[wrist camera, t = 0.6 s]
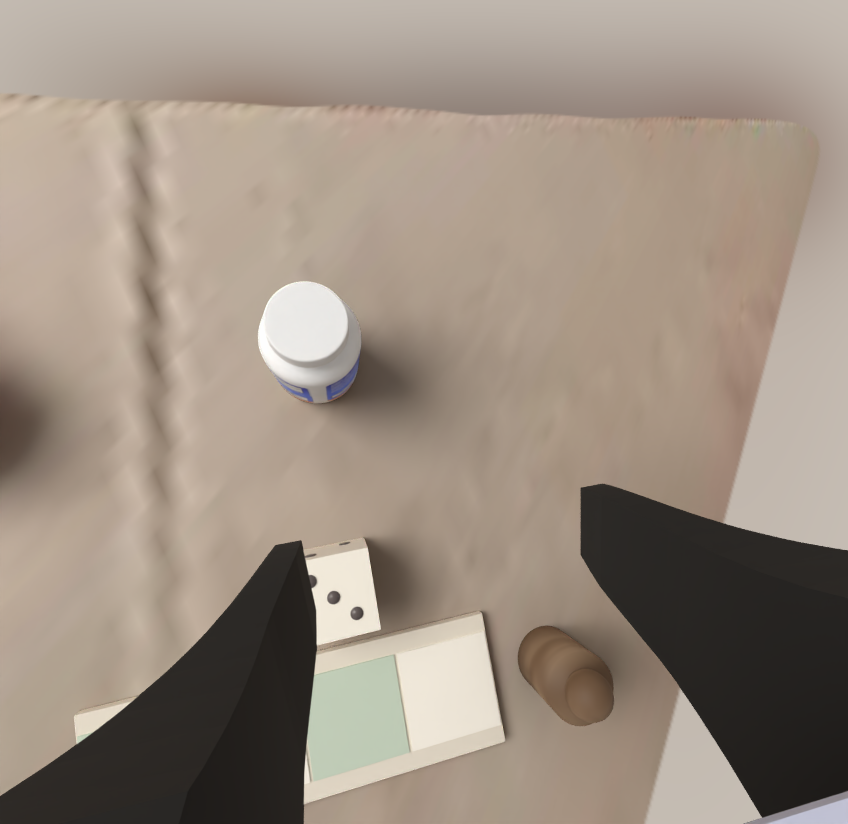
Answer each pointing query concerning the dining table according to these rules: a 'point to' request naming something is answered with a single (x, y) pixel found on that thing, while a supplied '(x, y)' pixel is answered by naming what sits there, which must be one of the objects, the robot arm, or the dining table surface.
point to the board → (387, 705)
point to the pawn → (566, 676)
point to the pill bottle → (310, 341)
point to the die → (342, 590)
